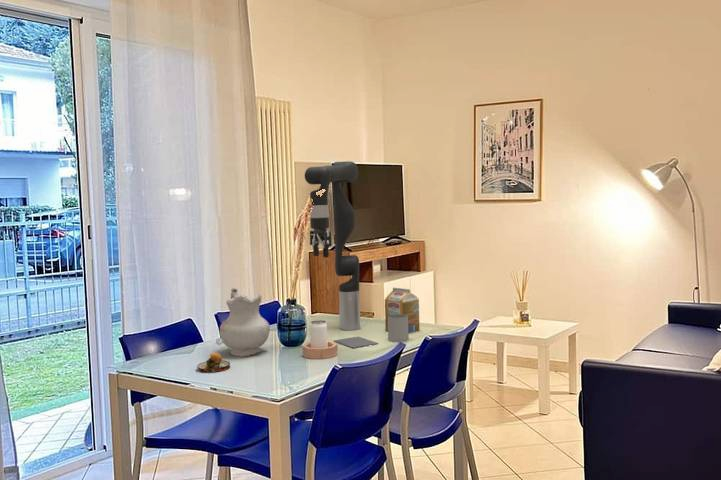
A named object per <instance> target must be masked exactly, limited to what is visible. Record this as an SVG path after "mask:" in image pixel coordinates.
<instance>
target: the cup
mask: <svg viewBox="0 0 721 480" xmlns="http://www.w3.org/2000/svg"><path fill="white" fill-rule="evenodd" d="M387 337H388V338H387V341H389V342H391V341H392V343H402V342H403V343H405V342H408V341H409V334H408V315H405V314H393V315H389V316H388V332H387Z"/></svg>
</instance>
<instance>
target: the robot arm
mask: <svg viewBox="0 0 721 480" xmlns="http://www.w3.org/2000/svg"><path fill="white" fill-rule="evenodd" d="M358 174H359V169H358V166H357V164H356V163H355V162H354V161H349V160H347V161H334V162H333V163H332V164H331V165H324V166H311V167H310V166H309V167H308V168H307V169H306V170H305V172H304V179H305V181H306V183H307V184H309V185H320V186H319V188H318V189H316V190H312V191H311V192H310V193H309V200H310V199H311V198H312V199H313V202H312V205H313V206H314V207H313V206H312V208H313V209H311V210H312V212H311V210H310V209H309V217H310V218H309V219H310V222H309V223H310V229H312V230H310V231H309V245H310V246H311V247H312V249H313V250H312V252H313V253H312V254H313V257H319V256H320V250H319V249H320V247H319V245H321V246H322V257H323V258H329V255H330V252H329V248H330V247H332V232H331V231H327V229H329V228H330V211H329V203H328V202H329V199H328V195H329V188H330V185H331V183H332V192H333V223H334V242H335V243H334V245H335V247H334V248H335V249H334V271H335V274H336V276H337V277H346V276H347V277H350V278H349V279H348V280H346V281H345V282H343V283H340V284H339V286H338V296H339V298H338V299H339V301H338V302H339V307H338V308H339V309H338V313H339V328H340V329H341V330H344V331H353V330H354V331H355V330H361V301H360V299H361V297H360V259H359V257H358V255H356V254H353V255H352V254H351V255H343V251H344V249H345V245H346V244H347V241H348V239H349V238H350V237H351V235H352V233H353V232H354V230H355V226H356V223H355V222H356V217H355V210H354V208H353V206H352V204H351V203H350V201H349V200H348V199H347V197H346V195H345V192H344V190H343V189H344V188H343V183H353V182H355V181H356V180H357V178H358V176H359V175H358ZM322 189H325V190H326V191H325V192H324V193H322V194H323V195H322V196H321V197H320V195H318V196H317V195H316V192H318V191H320V190H322ZM313 203H314V204H313ZM310 212H311V213H310Z"/></svg>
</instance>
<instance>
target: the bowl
mask: <svg viewBox="0 0 721 480" xmlns="http://www.w3.org/2000/svg"><path fill="white" fill-rule="evenodd" d="M338 352H339V350H338V343H336V342H334V341H328V347H326V348H311V342H306V343H305V344H304V345H302V355H303V356H302V357H303V358H305V359H309V360H310V359H311V360H326V359H333V358H335V357H336V356H338Z"/></svg>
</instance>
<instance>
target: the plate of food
mask: <svg viewBox="0 0 721 480" xmlns="http://www.w3.org/2000/svg"><path fill="white" fill-rule="evenodd" d="M219 351H220V350H218V353H217V352H213V353H211V354H210V355H209V358H208V359H207V360H206V361H204V362H200V363H199V364H197V365H196V368H198V370H199V373H203V374H204V373H205V371H206V372H207V373H208V374H211V373H213V374H214V373H215V372H220V373H221V372H224V371H228V370H229V369H231V362H230V361H229V360H228V361H227V360H223V357H222V355H221V353H219Z"/></svg>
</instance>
